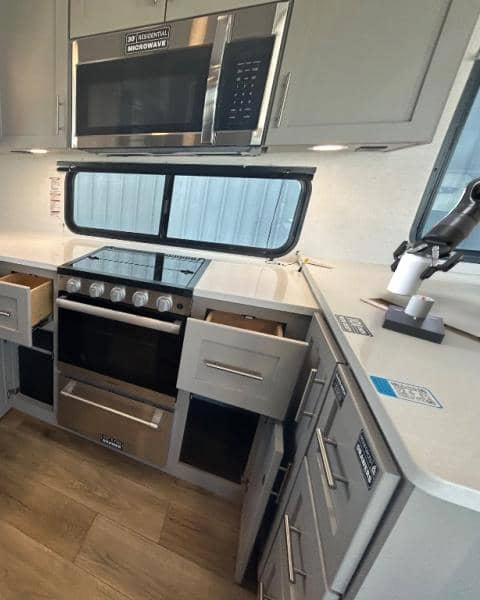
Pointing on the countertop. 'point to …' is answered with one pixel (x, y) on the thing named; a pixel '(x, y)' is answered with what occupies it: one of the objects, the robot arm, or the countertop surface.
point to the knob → (419, 306)
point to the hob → (414, 324)
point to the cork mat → (379, 303)
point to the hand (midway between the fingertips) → (406, 273)
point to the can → (409, 274)
